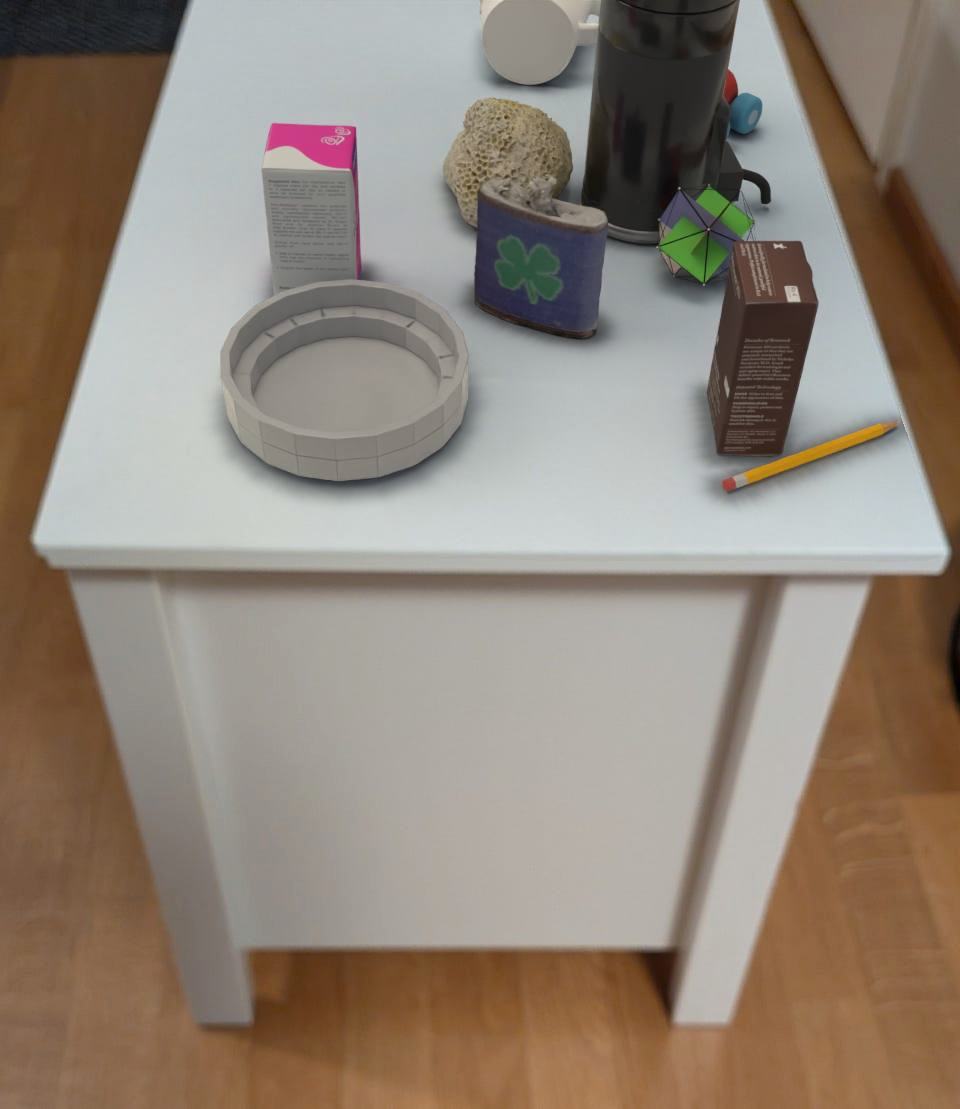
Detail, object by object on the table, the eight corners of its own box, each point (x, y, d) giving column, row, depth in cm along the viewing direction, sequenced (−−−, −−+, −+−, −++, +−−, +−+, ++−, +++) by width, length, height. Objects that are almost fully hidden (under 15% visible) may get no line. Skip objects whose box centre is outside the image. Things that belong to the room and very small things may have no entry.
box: (700, 394, 82) (731, 237, 73) (769, 395, 82) (809, 238, 73) (710, 458, 78) (745, 300, 69) (783, 460, 78) (827, 302, 69)
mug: (470, 81, 108) (472, -12, 102) (483, 30, 114) (485, -60, 108) (609, 92, 108) (619, 0, 102) (614, 41, 114) (624, -49, 108)
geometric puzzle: (687, 170, 82) (620, 262, 87) (769, 235, 82) (697, 324, 87) (715, 145, 88) (650, 232, 93) (791, 206, 88) (722, 290, 93)
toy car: (765, 125, 104) (789, 7, 97) (700, 165, 100) (720, 44, 93) (679, 85, 109) (696, -31, 101) (613, 121, 104) (625, 3, 97)
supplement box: (360, 319, 86) (350, 170, 78) (274, 317, 86) (254, 168, 78) (365, 268, 90) (356, 122, 81) (283, 267, 90) (265, 120, 81)
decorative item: (618, 185, 90) (498, 147, 86) (558, 273, 96) (443, 242, 92) (578, 83, 97) (465, 43, 92) (525, 172, 103) (416, 138, 98)
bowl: (449, 319, 86) (449, 271, 83) (483, 473, 76) (484, 425, 73) (226, 337, 85) (218, 288, 82) (231, 497, 75) (222, 449, 72)
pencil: (726, 478, 75) (730, 488, 75) (902, 414, 79) (906, 424, 79) (720, 482, 76) (725, 492, 76) (895, 419, 80) (900, 428, 80)
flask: (602, 323, 86) (617, 186, 78) (585, 347, 85) (598, 210, 77) (483, 284, 89) (486, 148, 81) (464, 307, 87) (465, 170, 79)
